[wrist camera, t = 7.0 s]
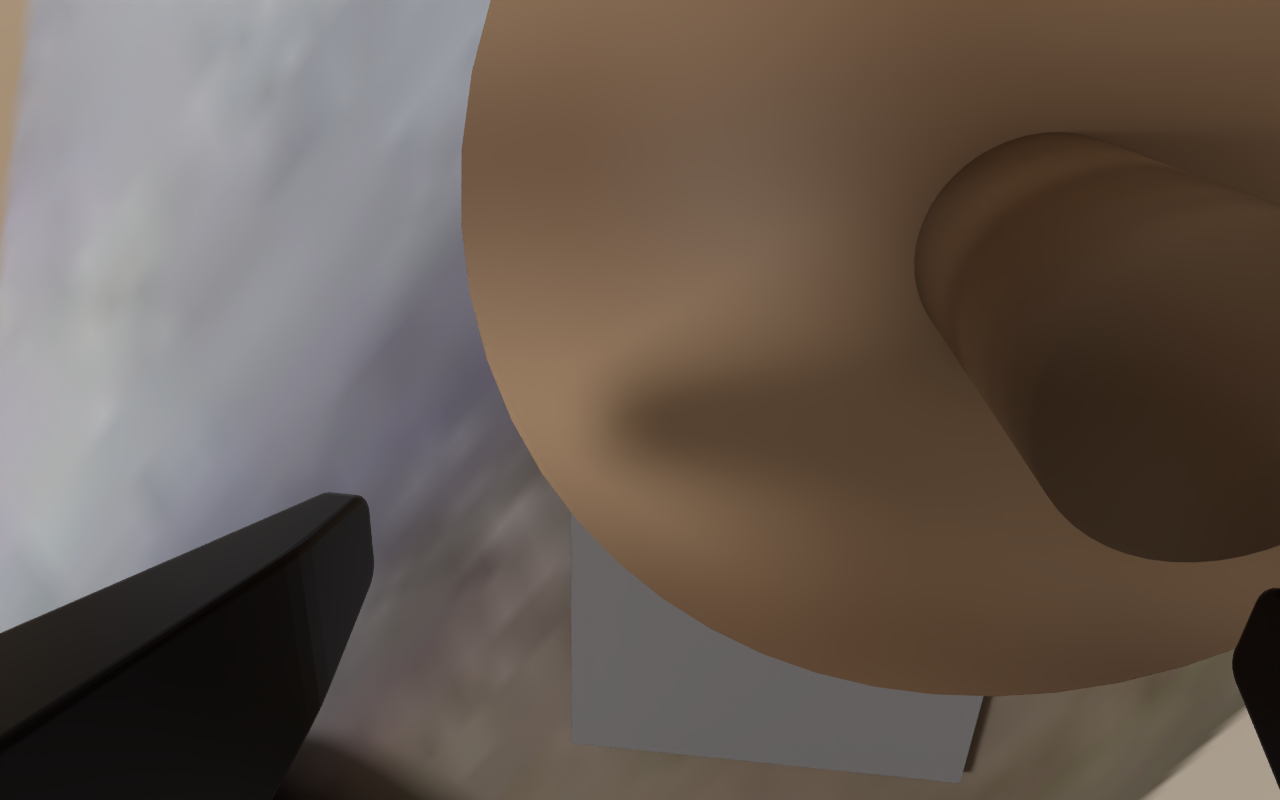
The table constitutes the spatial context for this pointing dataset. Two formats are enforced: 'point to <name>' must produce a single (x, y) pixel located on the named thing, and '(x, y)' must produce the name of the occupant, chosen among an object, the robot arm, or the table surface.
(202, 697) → the robot arm
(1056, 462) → the lid
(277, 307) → the table surface
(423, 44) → the table surface
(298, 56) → the table surface
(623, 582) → the mat
